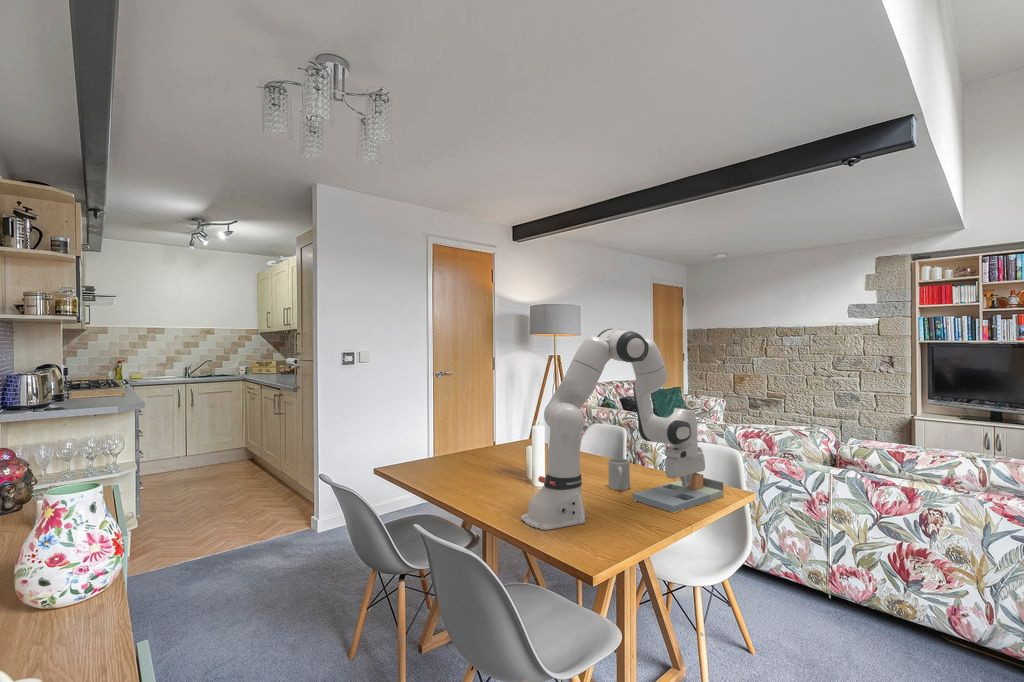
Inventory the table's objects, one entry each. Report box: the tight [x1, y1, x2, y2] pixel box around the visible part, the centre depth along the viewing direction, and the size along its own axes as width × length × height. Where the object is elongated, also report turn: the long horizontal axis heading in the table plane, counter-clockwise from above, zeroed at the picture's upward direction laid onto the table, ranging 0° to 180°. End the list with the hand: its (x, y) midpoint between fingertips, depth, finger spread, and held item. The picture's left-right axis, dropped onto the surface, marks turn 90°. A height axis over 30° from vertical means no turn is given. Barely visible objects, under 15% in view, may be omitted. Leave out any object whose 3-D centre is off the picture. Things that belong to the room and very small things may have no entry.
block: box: [687, 472, 704, 490], centre depth 186 cm, size 5×5×5 cm
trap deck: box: [632, 477, 724, 513], centre depth 180 cm, size 30×18×6 cm, turn 125°
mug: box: [607, 457, 631, 491], centre depth 194 cm, size 12×8×11 cm
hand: (686, 486), depth 183 cm, fingers closed
